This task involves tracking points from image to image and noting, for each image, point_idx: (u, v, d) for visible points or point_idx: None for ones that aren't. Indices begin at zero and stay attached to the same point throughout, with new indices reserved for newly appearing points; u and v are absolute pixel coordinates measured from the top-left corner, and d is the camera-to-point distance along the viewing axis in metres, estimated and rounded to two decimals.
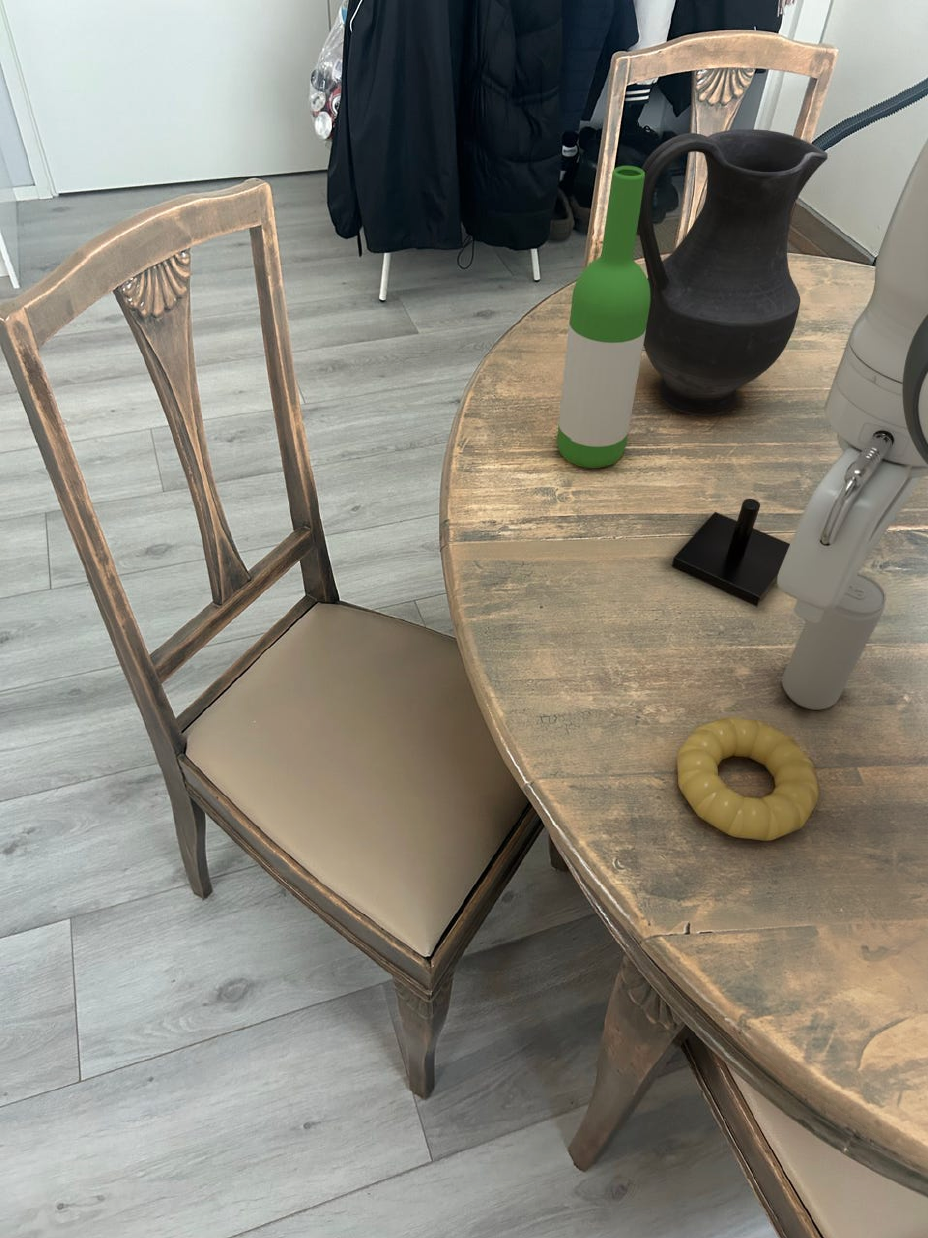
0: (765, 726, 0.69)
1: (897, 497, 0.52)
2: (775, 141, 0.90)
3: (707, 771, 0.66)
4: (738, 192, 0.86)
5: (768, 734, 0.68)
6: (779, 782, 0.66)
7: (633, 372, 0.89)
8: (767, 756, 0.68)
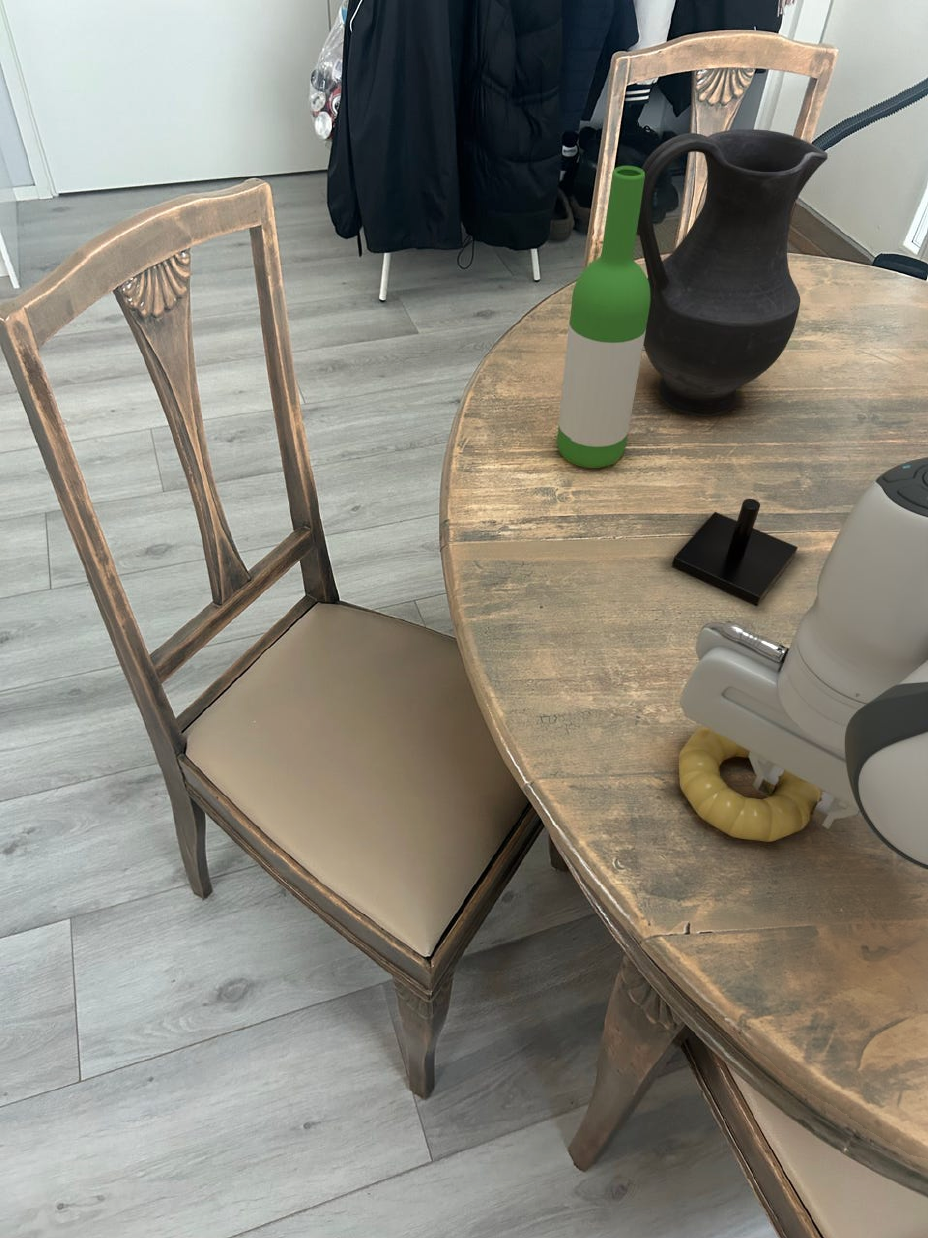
0: None
1: (794, 735, 0.59)
2: (775, 141, 0.90)
3: (709, 772, 0.66)
4: (738, 192, 0.86)
5: None
6: (781, 783, 0.66)
7: (633, 372, 0.89)
8: None
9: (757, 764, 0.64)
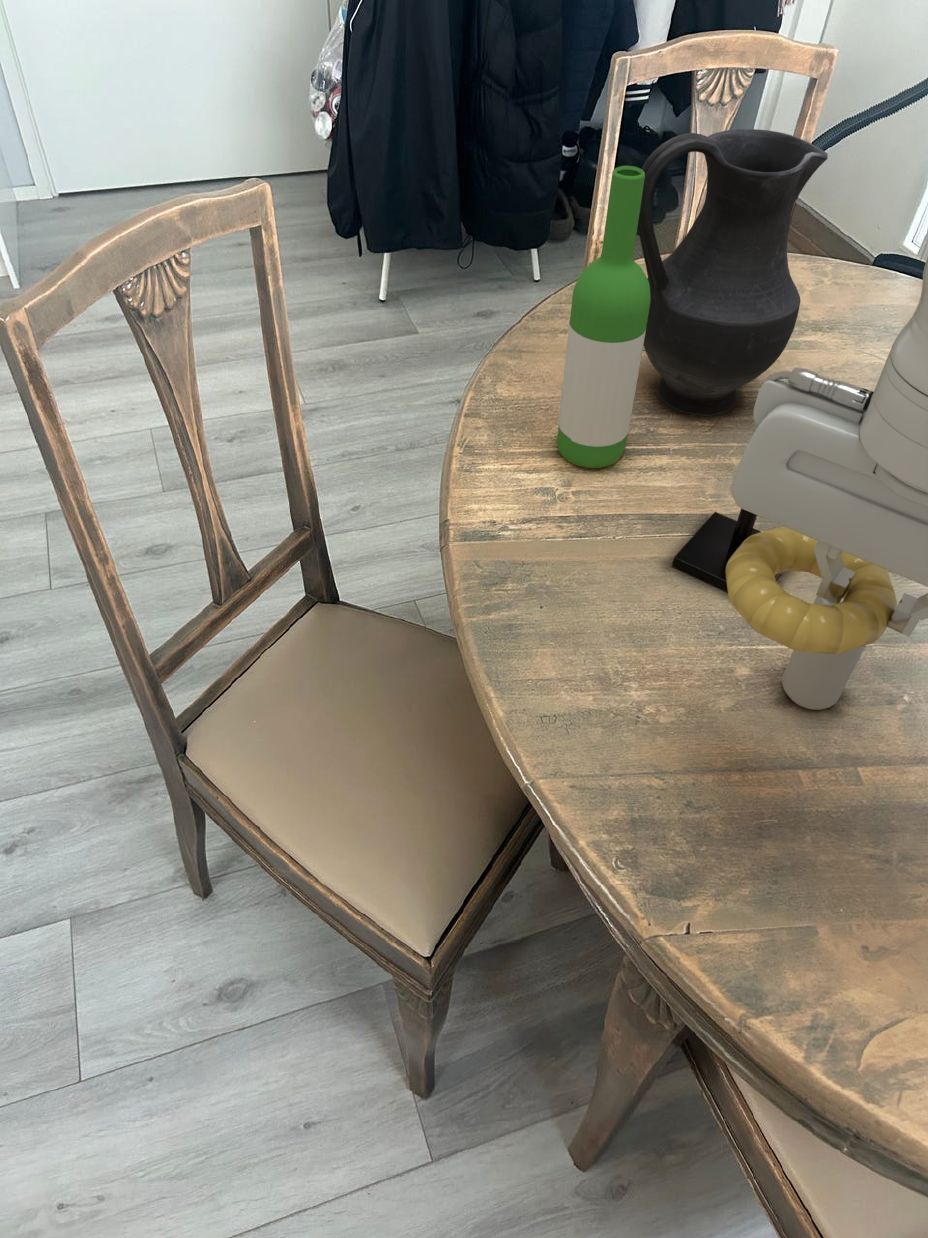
0: None
1: (877, 505, 0.49)
2: (775, 141, 0.90)
3: (764, 576, 0.55)
4: (738, 192, 0.86)
5: None
6: (850, 591, 0.56)
7: (633, 372, 0.89)
8: None
9: (824, 561, 0.53)
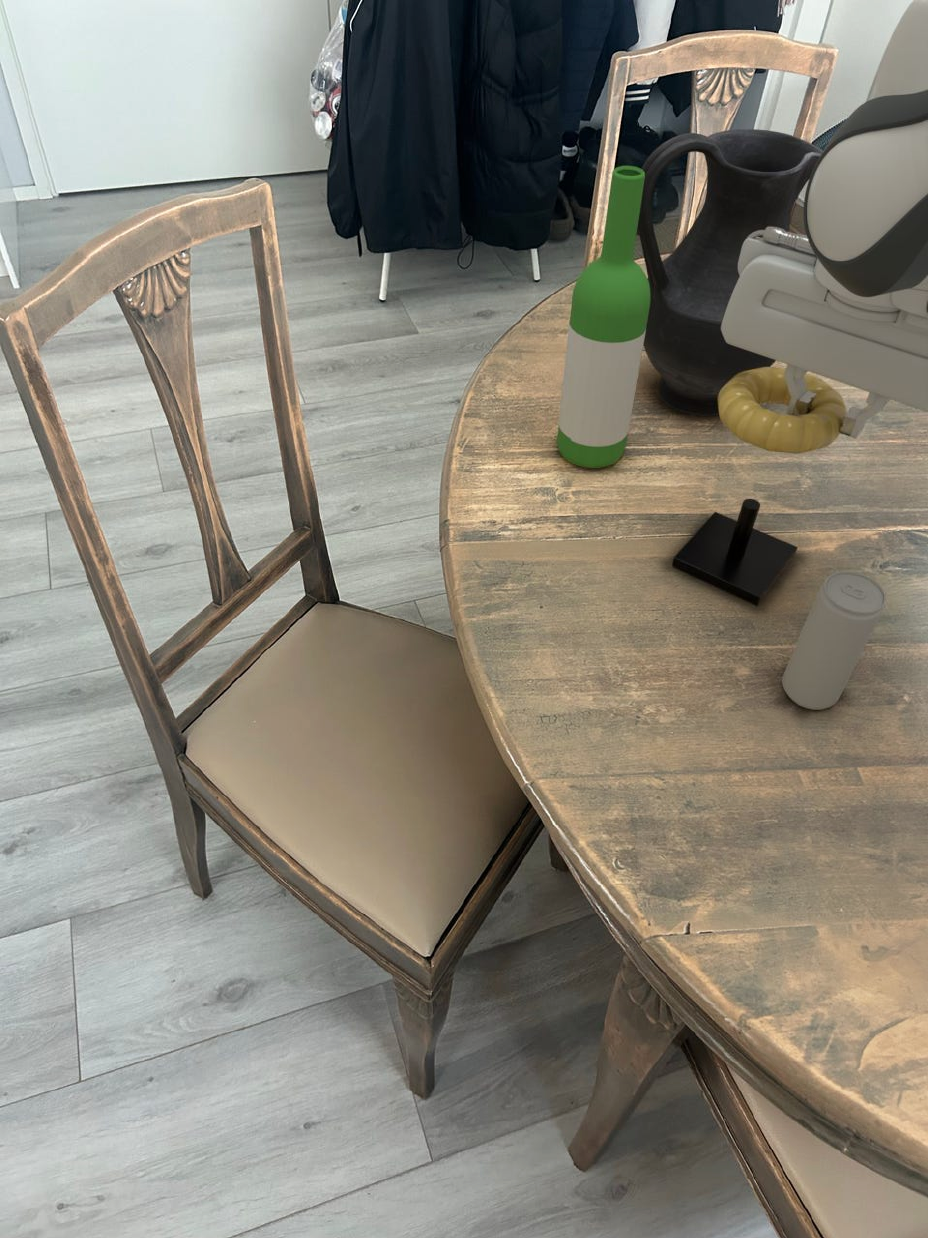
0: None
1: (828, 327, 0.66)
2: (775, 141, 0.90)
3: (746, 396, 0.72)
4: (738, 192, 0.86)
5: None
6: (812, 409, 0.73)
7: (633, 372, 0.89)
8: None
9: (792, 382, 0.71)
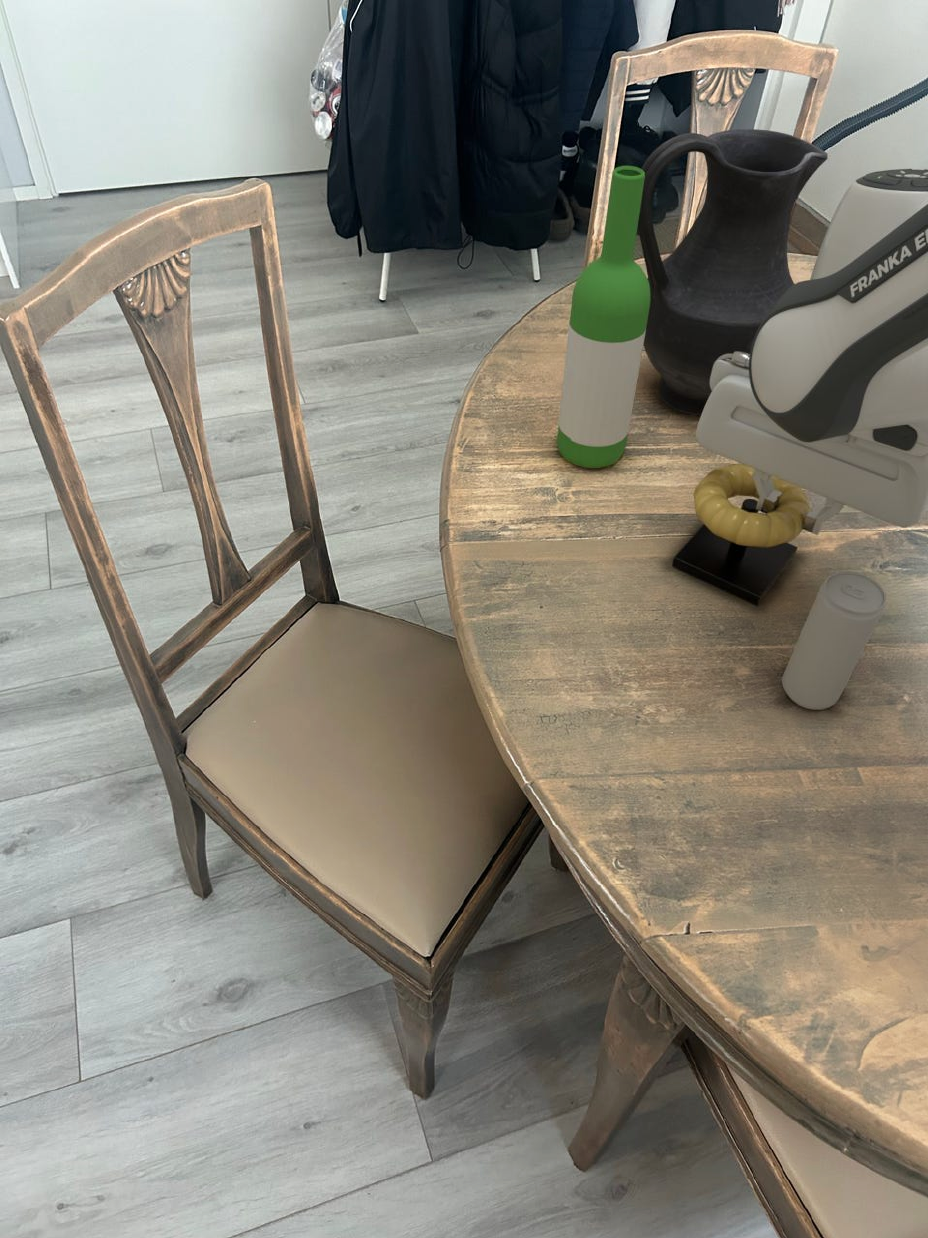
0: None
1: (789, 441, 0.74)
2: (775, 141, 0.90)
3: (719, 495, 0.80)
4: (738, 192, 0.86)
5: None
6: (778, 506, 0.81)
7: (633, 372, 0.89)
8: None
9: (759, 483, 0.79)
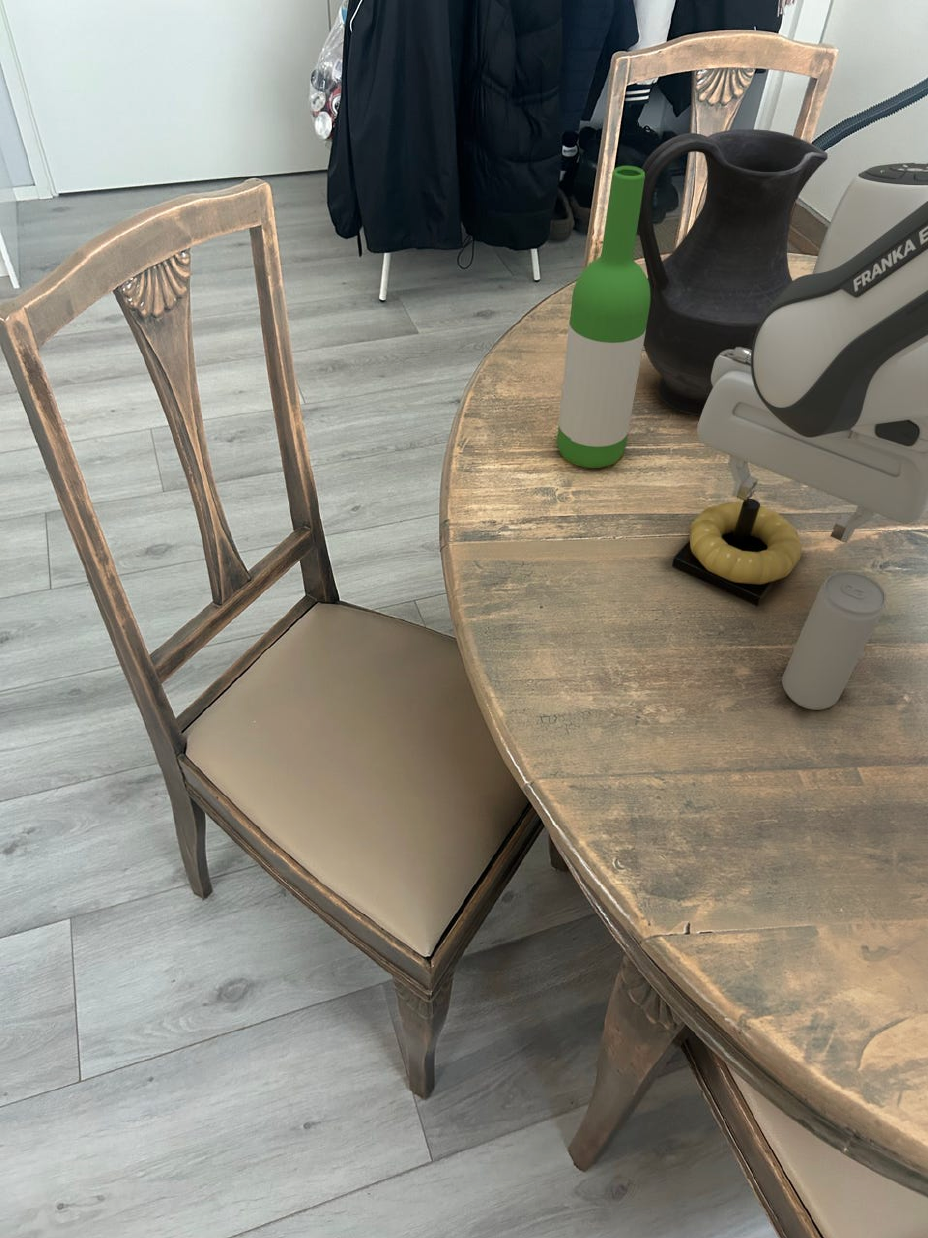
0: None
1: (791, 437, 0.73)
2: (775, 141, 0.90)
3: (713, 533, 0.83)
4: (738, 192, 0.86)
5: (761, 511, 0.86)
6: (771, 543, 0.84)
7: (633, 372, 0.89)
8: (761, 527, 0.85)
9: (735, 470, 0.79)
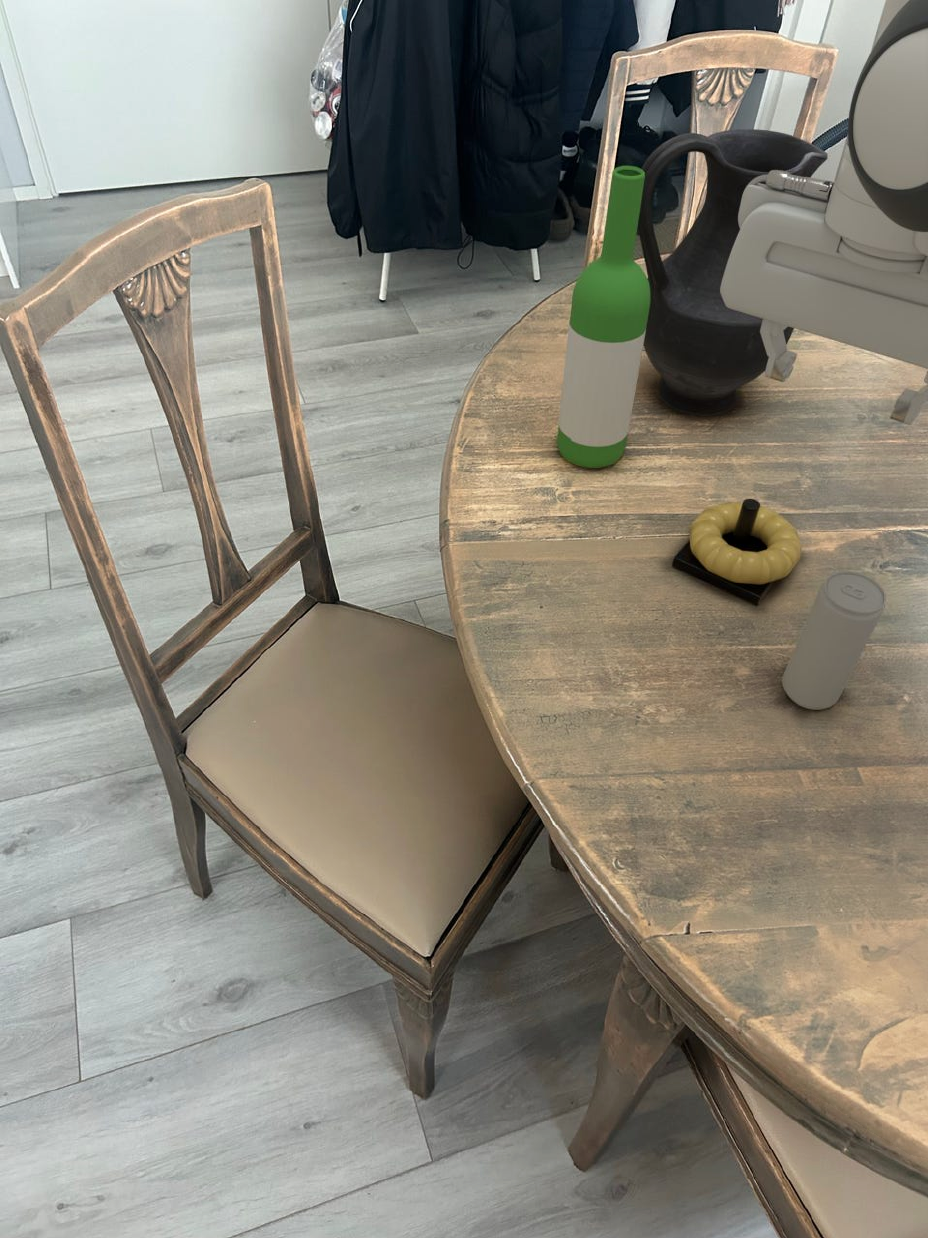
0: None
1: (841, 283, 0.58)
2: (775, 141, 0.90)
3: (713, 533, 0.83)
4: (738, 192, 0.86)
5: (761, 511, 0.86)
6: (771, 543, 0.84)
7: (633, 372, 0.89)
8: (761, 527, 0.85)
9: (769, 339, 0.64)
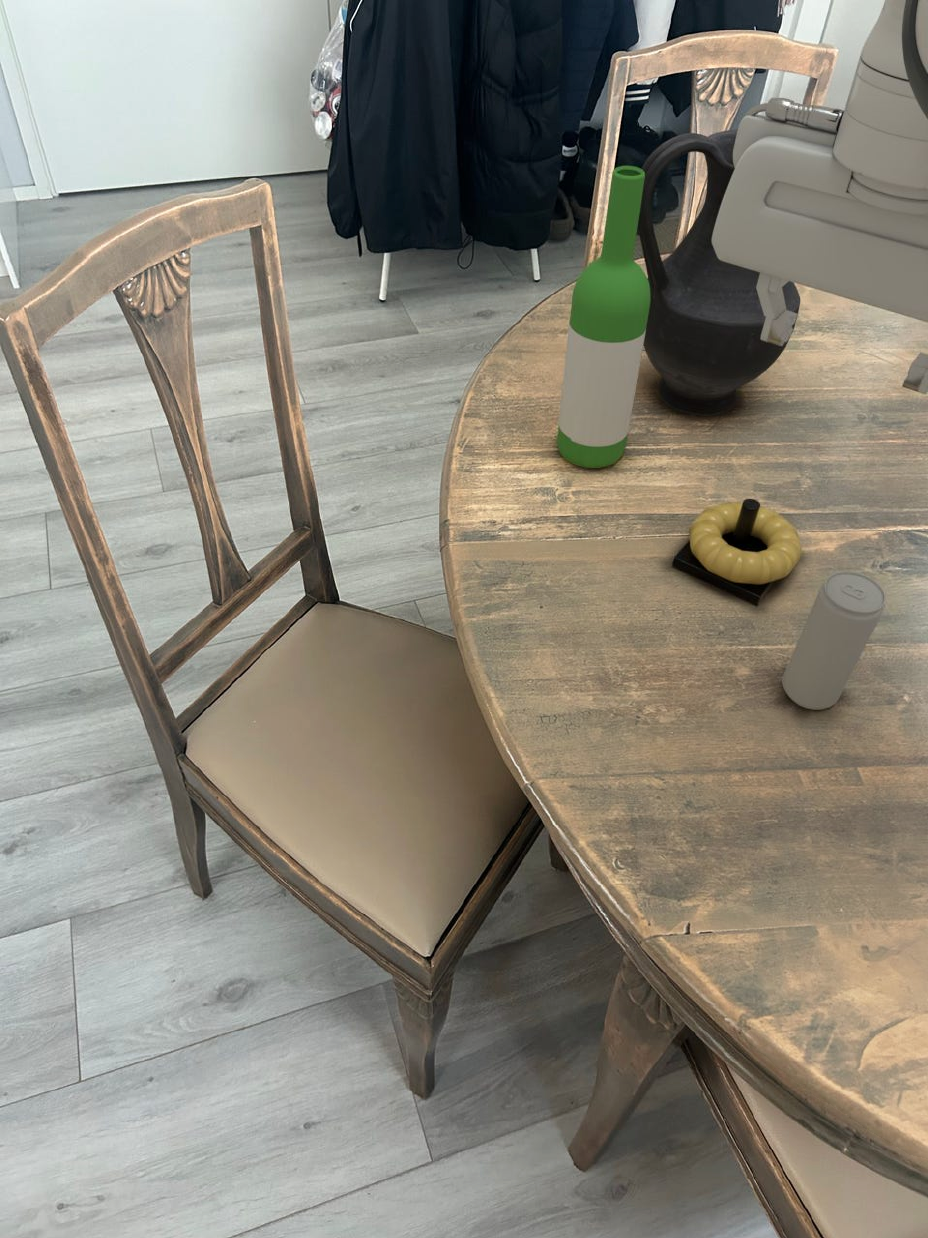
0: None
1: (851, 229, 0.50)
2: None
3: (713, 533, 0.83)
4: None
5: (761, 511, 0.86)
6: (771, 543, 0.84)
7: (633, 372, 0.89)
8: (761, 527, 0.85)
9: (766, 297, 0.56)
